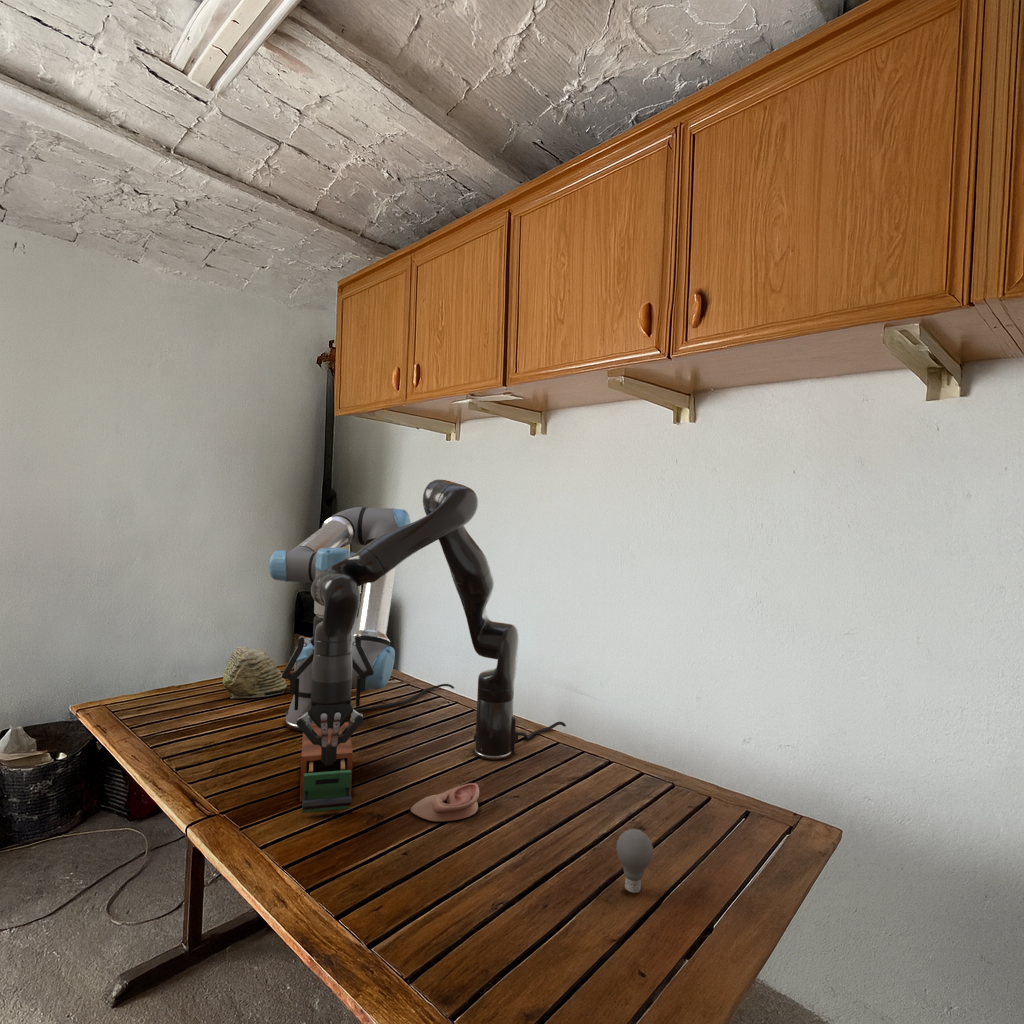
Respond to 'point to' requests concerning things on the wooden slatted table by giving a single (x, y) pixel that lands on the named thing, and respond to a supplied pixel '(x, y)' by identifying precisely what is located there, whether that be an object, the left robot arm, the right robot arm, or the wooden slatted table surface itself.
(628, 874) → the light bulb
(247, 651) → the fossil
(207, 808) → the wooden slatted table surface
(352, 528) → the left robot arm
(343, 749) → the cabinet
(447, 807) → the anatomical model
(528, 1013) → the wooden slatted table surface
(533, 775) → the wooden slatted table surface
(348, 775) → the drawer
